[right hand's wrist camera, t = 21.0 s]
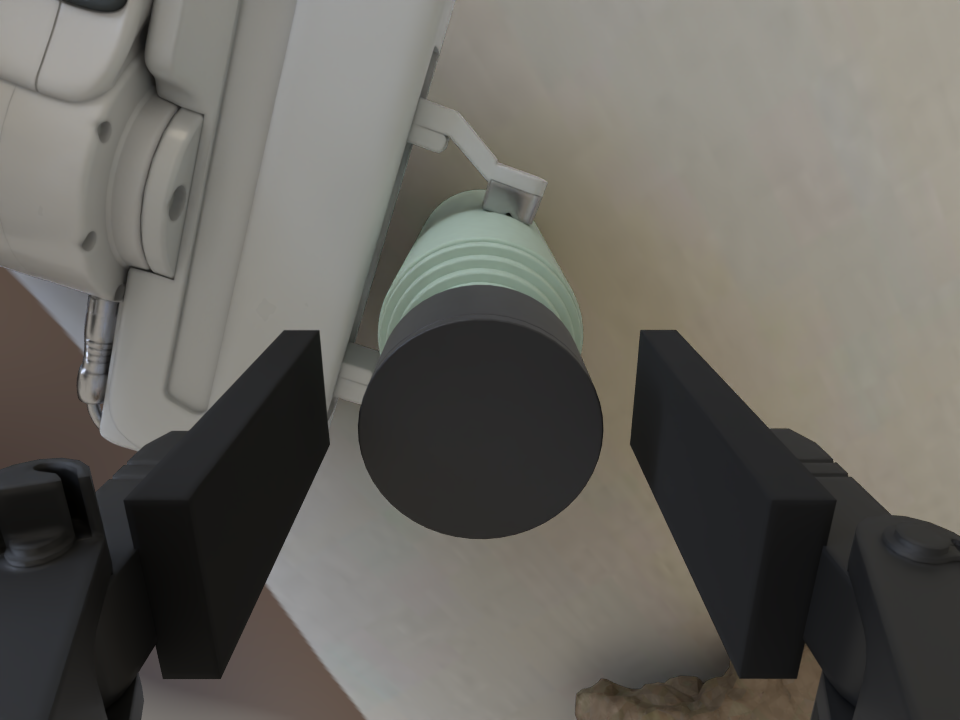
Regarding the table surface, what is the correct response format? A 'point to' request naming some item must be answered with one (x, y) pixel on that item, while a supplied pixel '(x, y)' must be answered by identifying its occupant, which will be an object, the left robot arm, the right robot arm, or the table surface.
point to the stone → (706, 697)
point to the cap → (480, 414)
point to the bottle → (478, 263)
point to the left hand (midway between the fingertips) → (504, 294)
